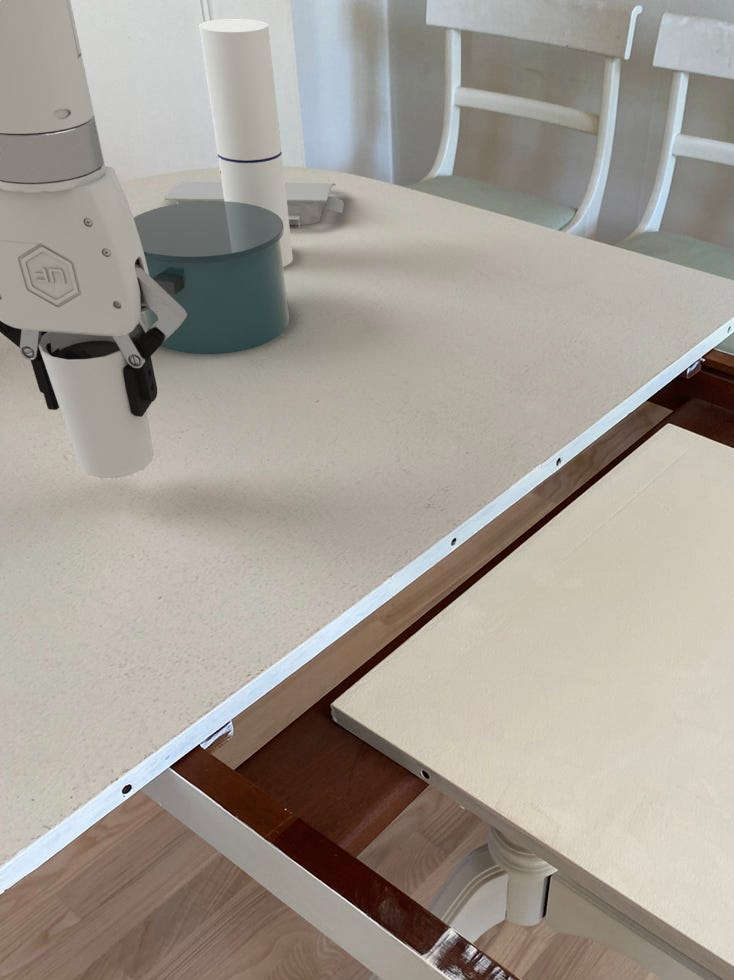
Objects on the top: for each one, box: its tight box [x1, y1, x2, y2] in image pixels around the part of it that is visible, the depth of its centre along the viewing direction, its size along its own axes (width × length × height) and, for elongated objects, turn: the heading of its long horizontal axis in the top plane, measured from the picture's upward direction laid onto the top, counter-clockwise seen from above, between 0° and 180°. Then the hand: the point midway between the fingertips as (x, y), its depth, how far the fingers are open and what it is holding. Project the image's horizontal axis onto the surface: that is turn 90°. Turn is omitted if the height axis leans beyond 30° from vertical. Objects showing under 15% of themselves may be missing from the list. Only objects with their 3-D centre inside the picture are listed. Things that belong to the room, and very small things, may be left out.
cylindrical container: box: [198, 18, 294, 268], centre depth 110 cm, size 7×7×25 cm
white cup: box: [38, 332, 155, 479], centre depth 74 cm, size 7×7×10 cm
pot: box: [133, 201, 290, 355], centre depth 101 cm, size 16×19×11 cm
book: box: [164, 181, 345, 230], centre depth 130 cm, size 15×23×4 cm, turn 92°
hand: (102, 402), depth 74 cm, fingers closed on white cup, 5 cm apart
